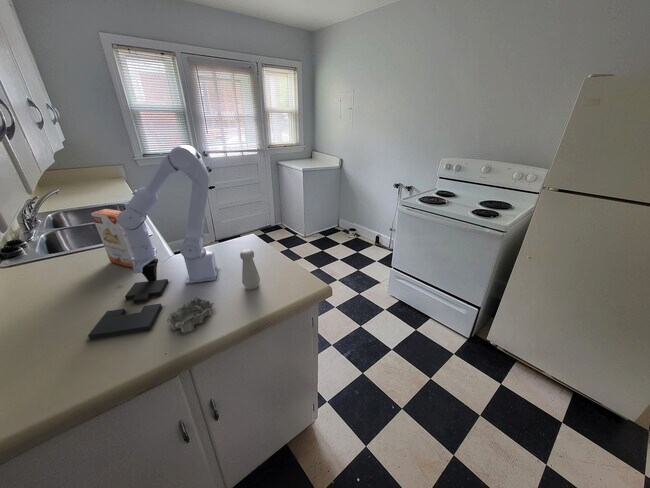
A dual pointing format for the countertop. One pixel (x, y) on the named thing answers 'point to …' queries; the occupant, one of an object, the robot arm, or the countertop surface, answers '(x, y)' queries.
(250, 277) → the salt shaker
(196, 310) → the egg carton
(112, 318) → the charcoal pad
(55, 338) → the countertop surface
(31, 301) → the countertop surface
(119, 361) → the countertop surface
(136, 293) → the black pad
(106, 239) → the cracker box
